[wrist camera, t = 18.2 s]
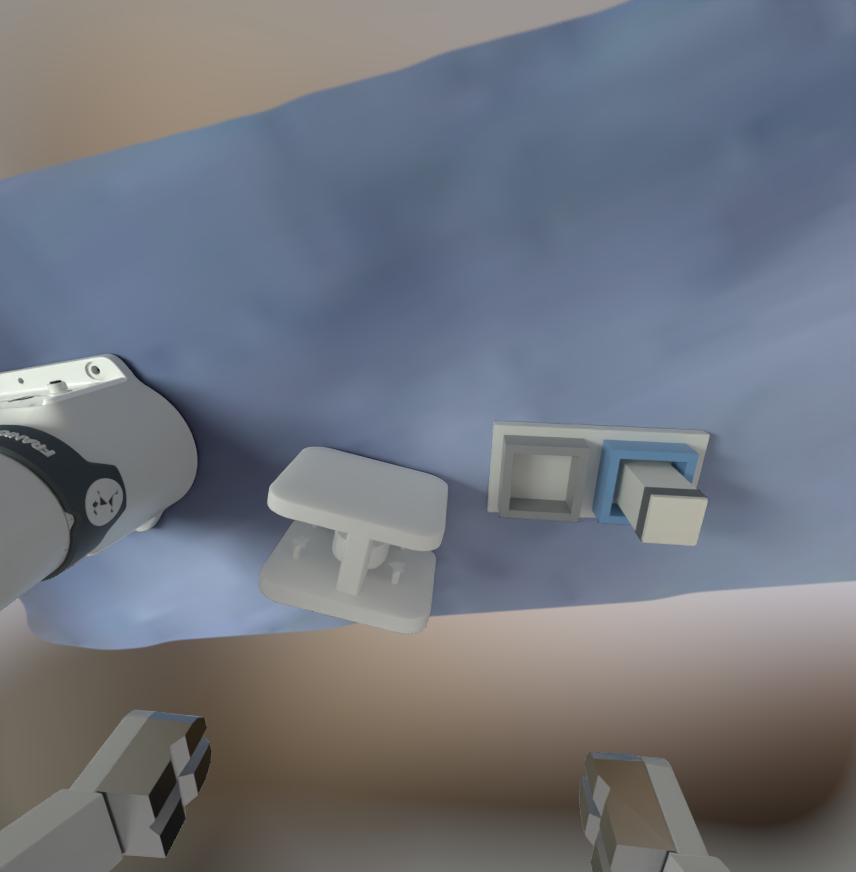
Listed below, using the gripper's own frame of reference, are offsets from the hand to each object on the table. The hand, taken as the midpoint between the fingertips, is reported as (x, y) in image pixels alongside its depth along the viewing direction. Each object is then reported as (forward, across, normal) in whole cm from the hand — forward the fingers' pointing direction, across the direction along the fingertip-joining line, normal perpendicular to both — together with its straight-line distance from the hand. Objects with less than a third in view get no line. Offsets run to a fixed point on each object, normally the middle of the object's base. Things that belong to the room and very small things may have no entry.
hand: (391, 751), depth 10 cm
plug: (+33, -18, +8) cm, 38 cm away
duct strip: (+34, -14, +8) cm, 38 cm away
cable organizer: (+34, +7, +13) cm, 37 cm away
